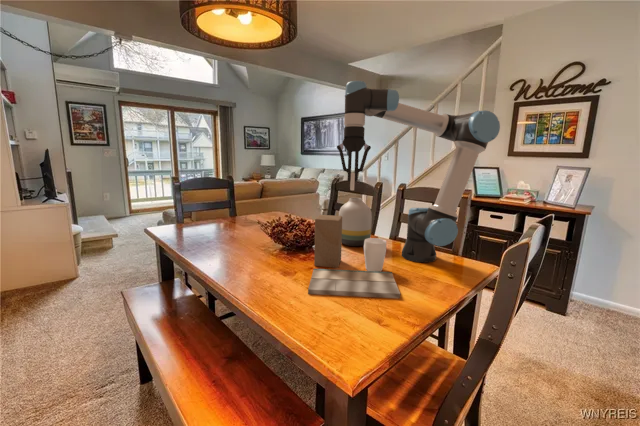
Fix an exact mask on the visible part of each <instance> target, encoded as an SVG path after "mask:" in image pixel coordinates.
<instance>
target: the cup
mask: <svg viewBox="0 0 640 426" xmlns="http://www.w3.org/2000/svg"><path fill="white" fill-rule="evenodd" d="M363 254H364V263H365V271H378V272H383V267H384V263H385V258H386V254H387V240H386V239H383V238H377V237H370V238H367V239H365V240H364V245H363Z"/></svg>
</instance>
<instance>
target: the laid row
mask: <svg viewBox="0 0 640 426" xmlns="http://www.w3.org/2000/svg"><path fill="white" fill-rule="evenodd" d="M307 294H308V295H324V296H325V295H326V296H328V295H329V296H345V297H346V296H347V297H363V298H364V297H365V298H383V299H385V298H386V299H401V292H400V290H399V287H398V284H397V282H395V283H394V282H372V281H351V280H329V279H311V278H310V281H309V285H308V289H307Z"/></svg>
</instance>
